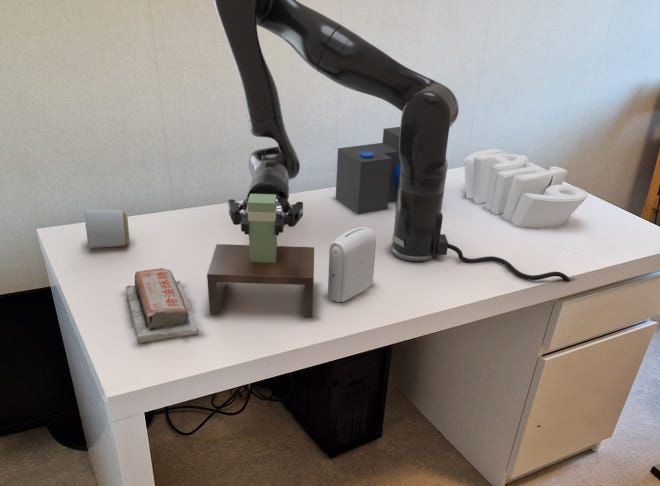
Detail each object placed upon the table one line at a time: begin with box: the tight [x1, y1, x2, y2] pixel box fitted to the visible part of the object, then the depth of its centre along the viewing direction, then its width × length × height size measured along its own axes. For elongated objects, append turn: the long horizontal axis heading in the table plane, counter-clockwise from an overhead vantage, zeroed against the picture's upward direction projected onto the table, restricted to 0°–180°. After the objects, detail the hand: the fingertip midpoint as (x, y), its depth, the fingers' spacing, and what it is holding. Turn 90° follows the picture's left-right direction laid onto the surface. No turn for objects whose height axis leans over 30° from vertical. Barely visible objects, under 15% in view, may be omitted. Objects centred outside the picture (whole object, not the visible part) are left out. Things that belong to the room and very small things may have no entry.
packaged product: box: [125, 267, 200, 344], centre depth 115 cm, size 18×5×10 cm
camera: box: [335, 126, 400, 215], centre depth 159 cm, size 25×16×16 cm, turn 119°
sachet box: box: [248, 194, 278, 263], centre depth 115 cm, size 5×4×11 cm
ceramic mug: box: [84, 209, 130, 249], centre depth 136 cm, size 11×8×8 cm
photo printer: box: [327, 226, 377, 303], centre depth 122 cm, size 10×4×12 cm, turn 140°
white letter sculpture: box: [463, 148, 589, 229], centre depth 162 cm, size 35×16×11 cm, turn 26°
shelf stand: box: [206, 243, 315, 319], centre depth 119 cm, size 18×12×8 cm, turn 91°
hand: (261, 229), depth 112 cm, fingers closed on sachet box, 4 cm apart
